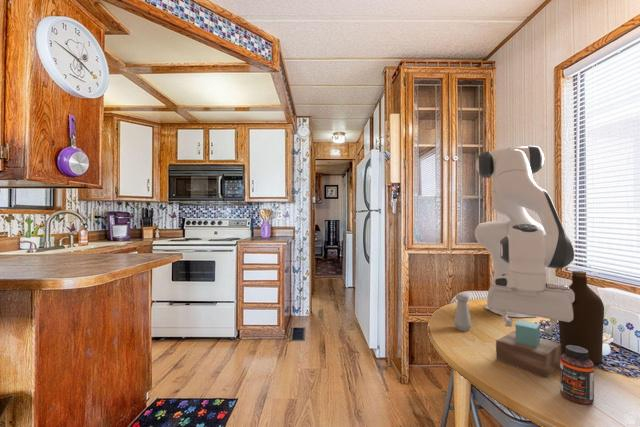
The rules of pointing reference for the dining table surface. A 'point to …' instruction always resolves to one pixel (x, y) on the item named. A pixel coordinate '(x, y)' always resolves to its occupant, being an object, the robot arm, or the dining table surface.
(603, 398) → the dining table surface
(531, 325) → the teal cube
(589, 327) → the olive oil
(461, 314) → the salt shaker
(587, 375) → the supplement bottle
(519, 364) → the walnut block
